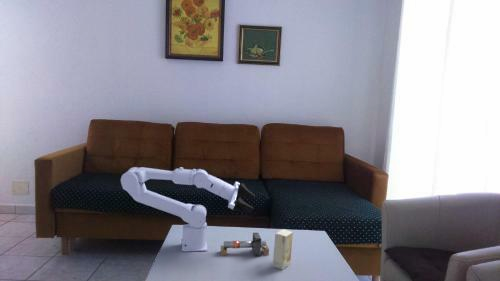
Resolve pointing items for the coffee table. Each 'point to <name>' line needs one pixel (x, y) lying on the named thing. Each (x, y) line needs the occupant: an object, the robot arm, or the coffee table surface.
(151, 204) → the robot arm
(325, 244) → the coffee table surface
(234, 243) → the pipe
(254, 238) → the grey square collar
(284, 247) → the skincare box
